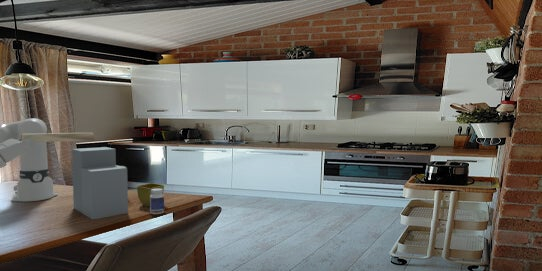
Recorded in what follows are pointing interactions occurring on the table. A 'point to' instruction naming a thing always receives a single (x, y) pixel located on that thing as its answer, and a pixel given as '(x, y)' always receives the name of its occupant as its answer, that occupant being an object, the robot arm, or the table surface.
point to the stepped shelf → (99, 183)
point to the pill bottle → (156, 201)
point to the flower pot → (147, 192)
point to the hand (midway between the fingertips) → (32, 136)
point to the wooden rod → (60, 137)
